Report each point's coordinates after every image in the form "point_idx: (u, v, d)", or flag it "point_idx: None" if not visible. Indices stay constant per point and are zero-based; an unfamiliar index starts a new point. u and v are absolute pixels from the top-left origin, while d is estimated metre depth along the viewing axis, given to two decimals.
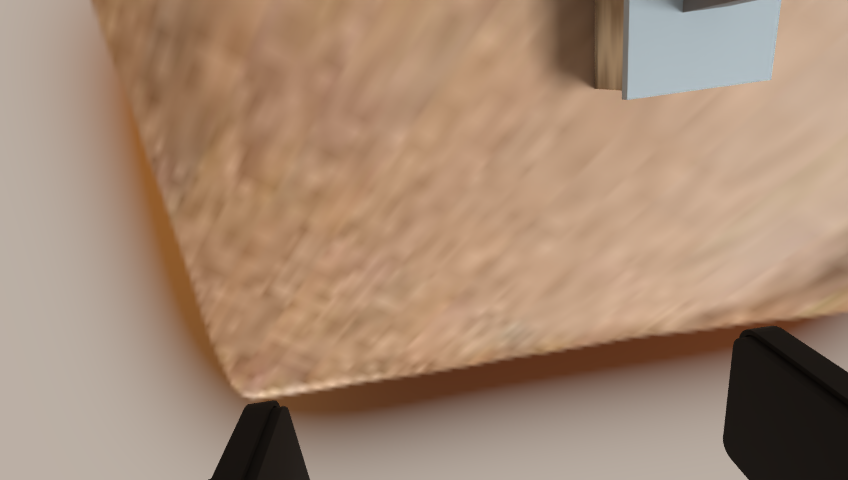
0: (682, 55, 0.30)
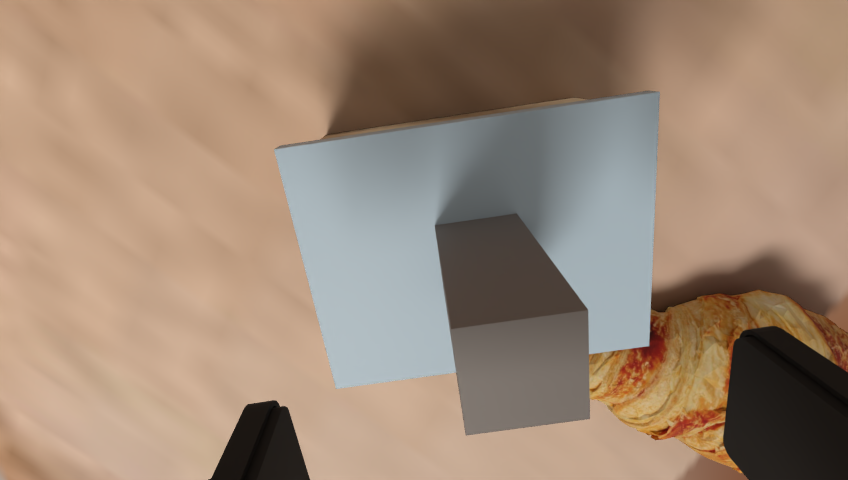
0: (364, 240, 0.17)
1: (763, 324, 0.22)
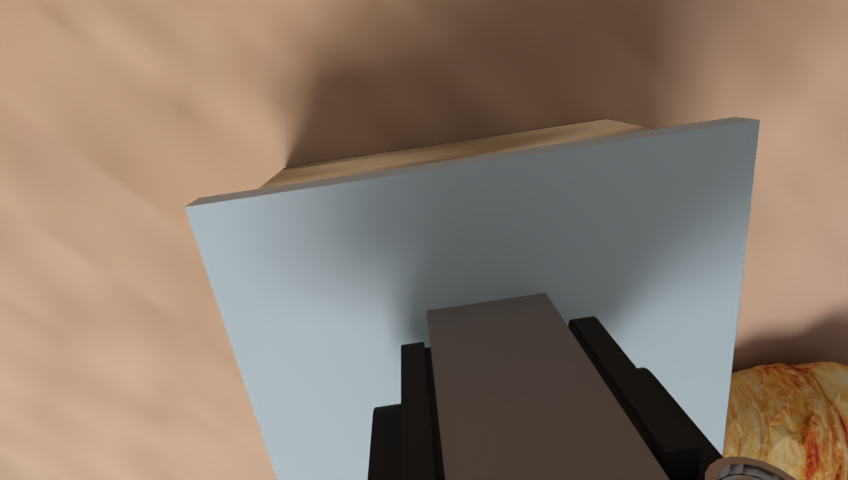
0: (324, 332, 0.11)
1: (846, 411, 0.17)
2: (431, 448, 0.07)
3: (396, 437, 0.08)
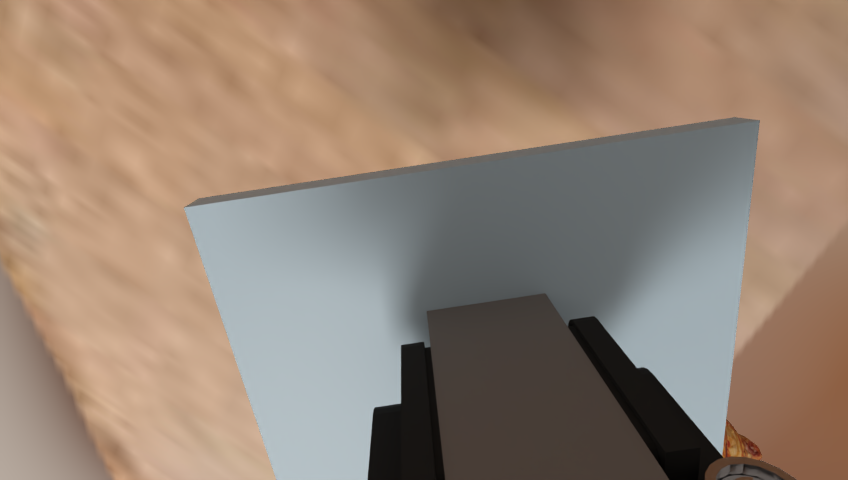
0: (324, 332, 0.11)
1: None
2: (431, 448, 0.07)
3: (395, 437, 0.08)
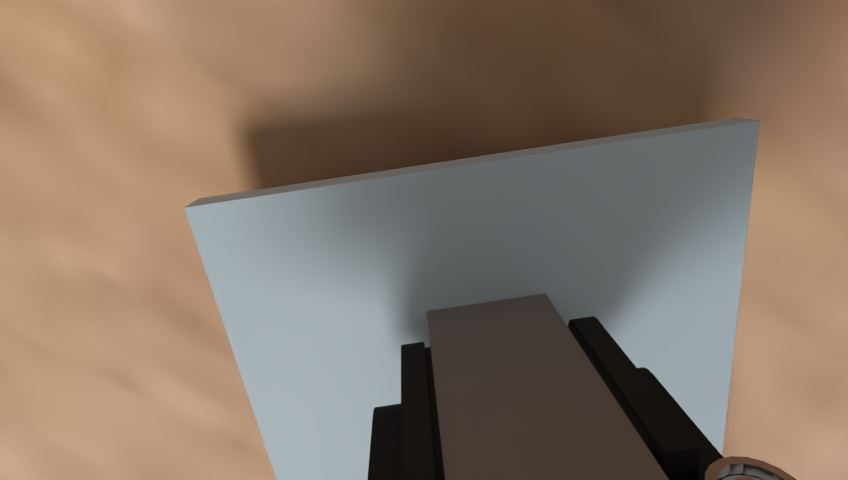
0: (324, 332, 0.11)
1: None
2: (431, 448, 0.07)
3: (396, 437, 0.08)
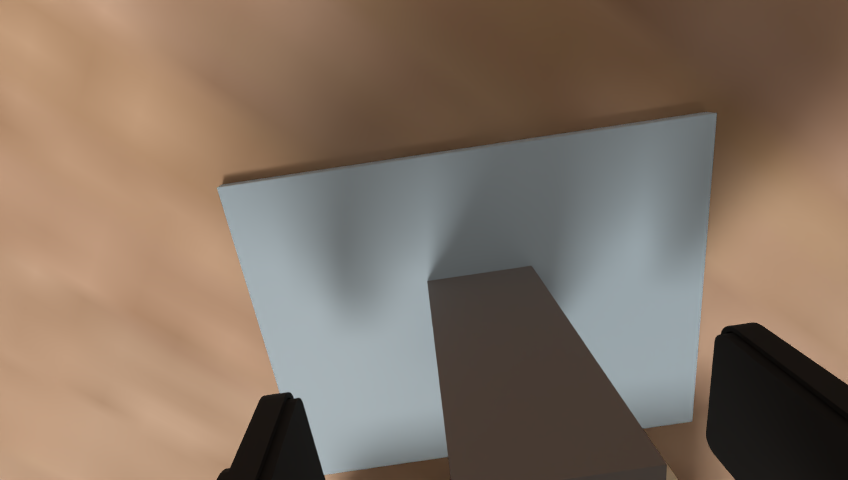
0: (337, 300, 0.13)
1: None
2: None
3: None
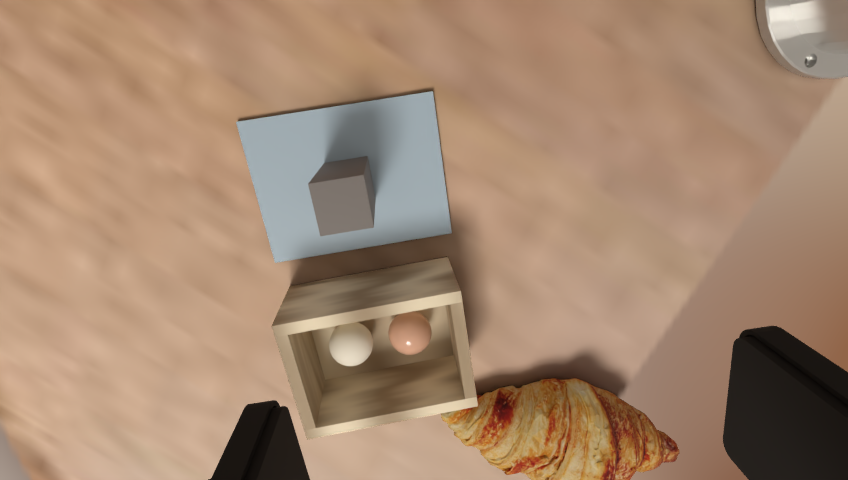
0: (286, 171, 0.31)
1: (572, 403, 0.35)
2: None
3: None
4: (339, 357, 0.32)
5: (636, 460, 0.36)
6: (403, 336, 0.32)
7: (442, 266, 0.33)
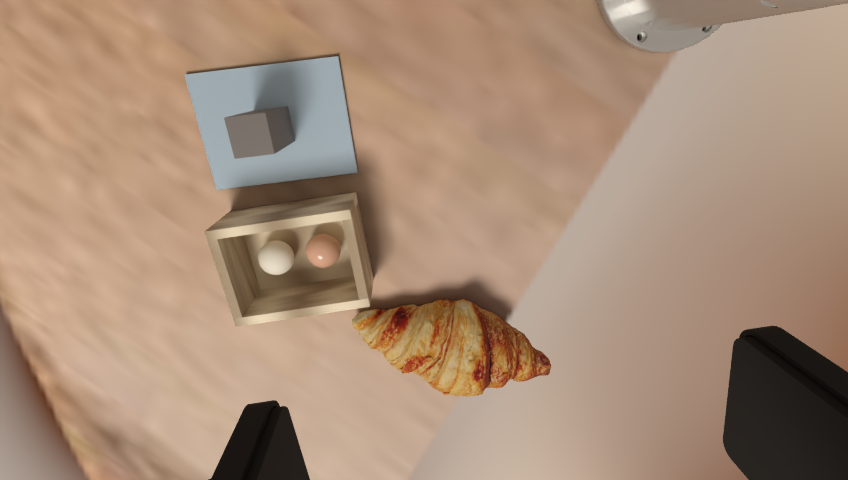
0: (224, 116, 0.39)
1: (455, 315, 0.44)
2: None
3: None
4: (264, 265, 0.41)
5: (508, 366, 0.45)
6: (314, 250, 0.41)
7: (348, 197, 0.41)
